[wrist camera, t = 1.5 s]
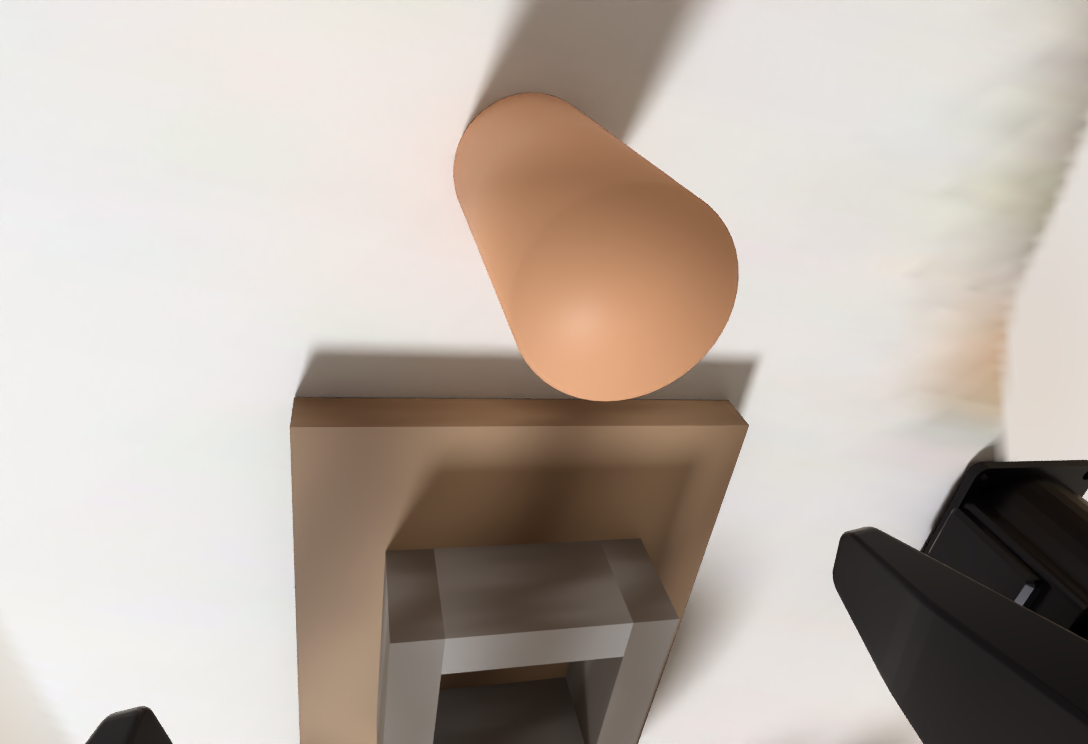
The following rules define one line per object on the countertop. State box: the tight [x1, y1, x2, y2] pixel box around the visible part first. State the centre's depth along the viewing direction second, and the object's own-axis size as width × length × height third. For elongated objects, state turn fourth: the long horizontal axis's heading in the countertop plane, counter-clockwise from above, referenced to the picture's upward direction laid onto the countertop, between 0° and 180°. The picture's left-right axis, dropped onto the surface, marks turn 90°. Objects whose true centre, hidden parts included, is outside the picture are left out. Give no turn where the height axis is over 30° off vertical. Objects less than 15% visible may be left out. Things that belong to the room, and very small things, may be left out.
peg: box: [453, 93, 738, 401], centre depth 15 cm, size 4×4×8 cm
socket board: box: [290, 398, 749, 744], centre depth 24 cm, size 14×18×5 cm
